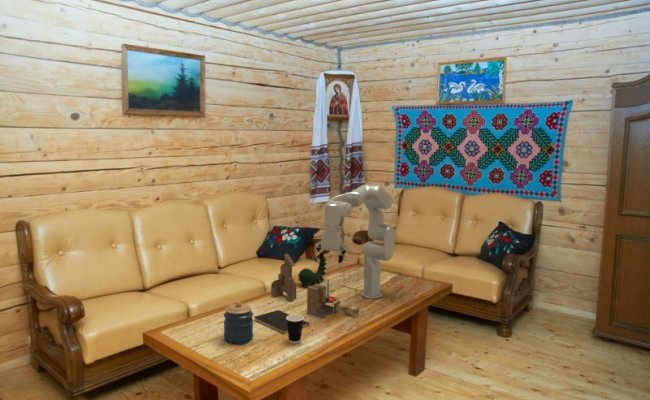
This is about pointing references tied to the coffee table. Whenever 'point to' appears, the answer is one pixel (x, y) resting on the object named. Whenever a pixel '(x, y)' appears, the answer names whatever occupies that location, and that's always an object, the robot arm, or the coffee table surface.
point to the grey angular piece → (318, 301)
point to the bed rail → (346, 310)
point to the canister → (238, 324)
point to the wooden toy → (285, 281)
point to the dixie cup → (294, 327)
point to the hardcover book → (276, 320)
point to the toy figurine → (312, 274)
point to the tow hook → (328, 295)
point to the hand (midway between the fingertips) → (330, 261)
